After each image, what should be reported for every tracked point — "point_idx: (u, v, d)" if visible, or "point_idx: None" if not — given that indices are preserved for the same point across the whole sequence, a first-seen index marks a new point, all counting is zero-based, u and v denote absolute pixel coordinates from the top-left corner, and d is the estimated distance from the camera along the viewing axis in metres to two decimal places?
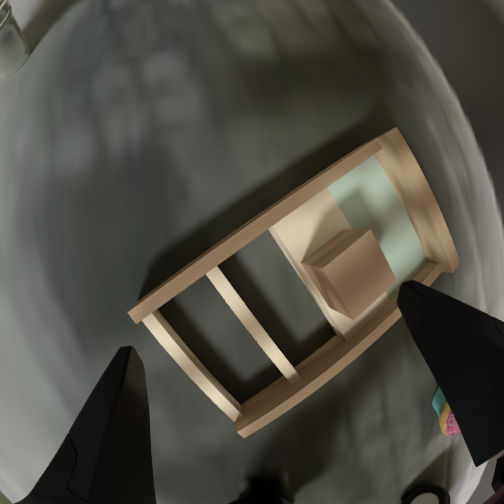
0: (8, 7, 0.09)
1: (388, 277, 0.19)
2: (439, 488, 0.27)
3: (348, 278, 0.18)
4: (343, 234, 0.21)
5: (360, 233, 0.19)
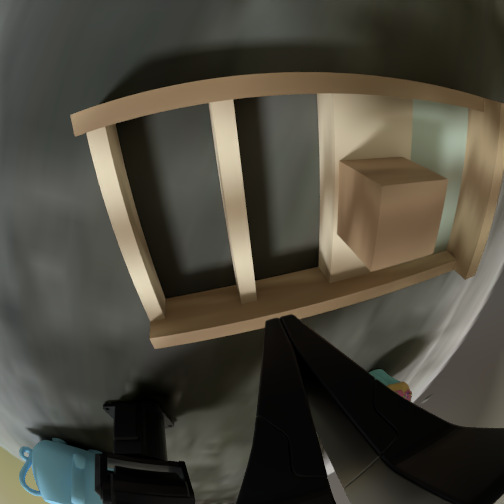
0: None
1: (428, 245, 0.14)
2: None
3: (398, 218, 0.12)
4: (404, 162, 0.14)
5: (433, 175, 0.12)
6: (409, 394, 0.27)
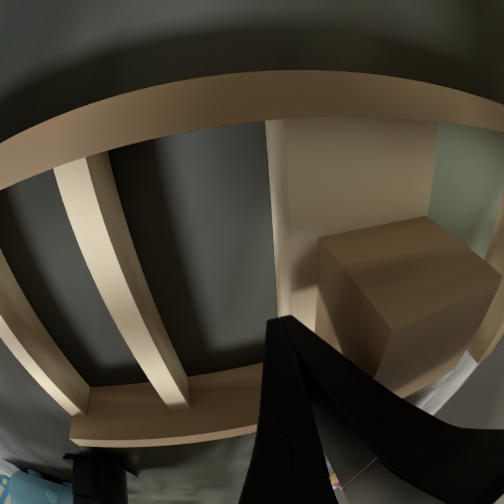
0: None
1: (451, 364, 0.08)
2: None
3: (412, 358, 0.06)
4: (431, 232, 0.08)
5: (481, 269, 0.06)
6: None
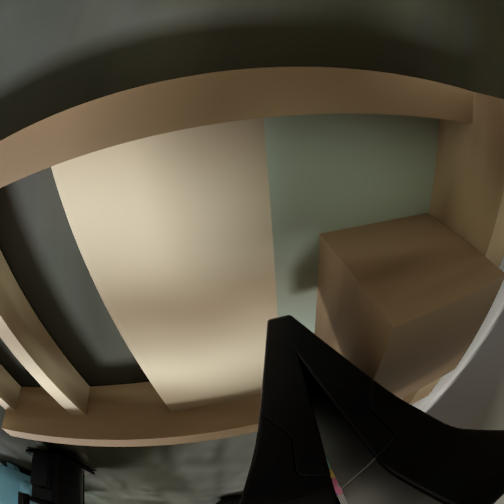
0: None
1: (452, 364, 0.08)
2: None
3: (413, 357, 0.06)
4: (433, 229, 0.08)
5: (483, 266, 0.06)
6: None
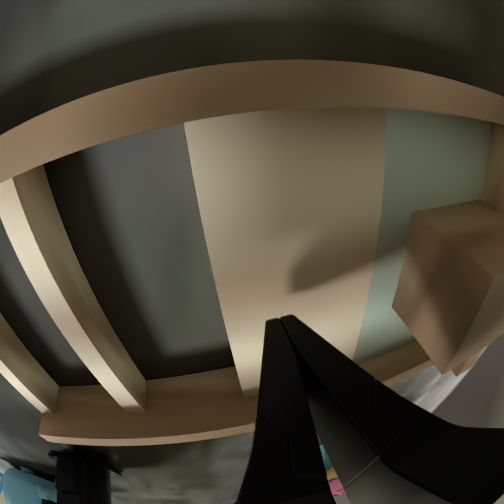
0: None
1: None
2: None
3: (492, 310, 0.07)
4: (489, 212, 0.08)
5: None
6: None
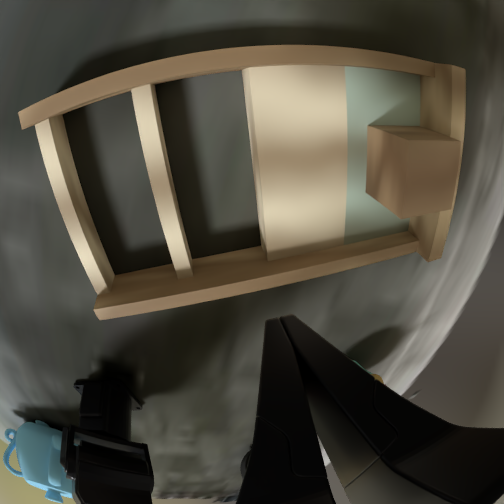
0: None
1: (447, 200, 0.14)
2: None
3: (422, 170, 0.13)
4: (422, 129, 0.15)
5: (448, 138, 0.13)
6: None
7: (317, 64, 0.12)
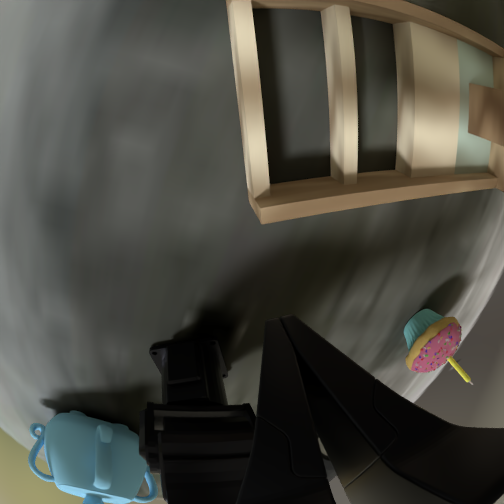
0: None
1: None
2: None
3: None
4: None
5: None
6: (460, 329, 0.27)
7: (448, 32, 0.12)
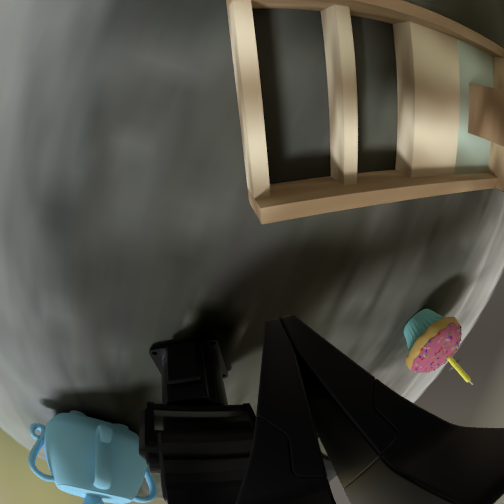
0: None
1: None
2: None
3: None
4: None
5: None
6: (460, 329, 0.27)
7: (448, 32, 0.12)
